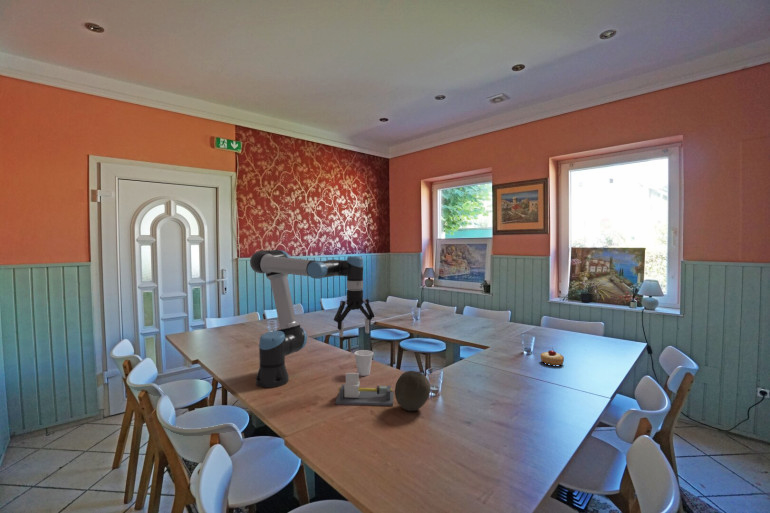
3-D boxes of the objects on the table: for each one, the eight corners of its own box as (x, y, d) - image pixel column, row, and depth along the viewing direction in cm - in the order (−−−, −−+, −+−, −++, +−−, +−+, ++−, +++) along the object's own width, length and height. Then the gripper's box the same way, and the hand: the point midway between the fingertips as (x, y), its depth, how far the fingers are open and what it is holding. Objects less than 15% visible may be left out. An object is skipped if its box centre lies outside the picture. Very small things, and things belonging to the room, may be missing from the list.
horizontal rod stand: (335, 404, 149) (335, 390, 149) (340, 392, 161) (340, 379, 161) (392, 405, 148) (392, 392, 148) (393, 393, 160) (393, 381, 160)
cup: (370, 378, 178) (370, 356, 177) (351, 376, 180) (351, 355, 179) (375, 371, 188) (375, 350, 187) (357, 369, 190) (357, 349, 189)
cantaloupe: (420, 420, 136) (420, 381, 135) (388, 411, 143) (388, 374, 143) (435, 406, 148) (435, 370, 147) (405, 398, 155) (405, 364, 155)
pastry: (540, 366, 198) (540, 350, 198) (540, 359, 209) (540, 344, 209) (565, 368, 194) (564, 352, 193) (563, 361, 205) (562, 346, 204)
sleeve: (344, 397, 152) (344, 375, 152) (346, 392, 157) (346, 371, 157) (358, 397, 152) (358, 375, 152) (359, 392, 157) (359, 371, 157)
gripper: (333, 292, 156) (333, 340, 157) (381, 288, 170) (381, 333, 171) (326, 290, 163) (326, 336, 164) (373, 287, 176) (373, 329, 177)
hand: (354, 334), depth 167 cm, fingers open, 13 cm apart
